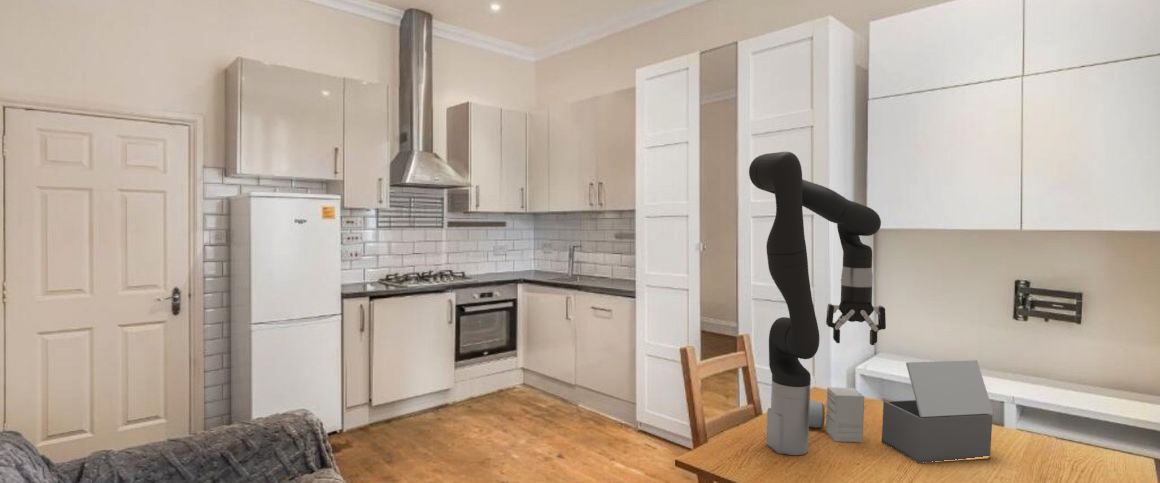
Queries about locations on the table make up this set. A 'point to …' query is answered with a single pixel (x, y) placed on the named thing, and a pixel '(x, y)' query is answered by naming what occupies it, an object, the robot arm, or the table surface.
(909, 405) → the storage box
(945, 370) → the lid
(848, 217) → the robot arm
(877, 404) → the table surface
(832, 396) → the supplement box
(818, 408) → the ceramic mug
